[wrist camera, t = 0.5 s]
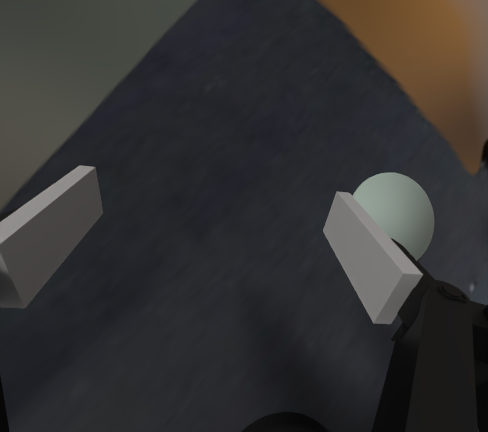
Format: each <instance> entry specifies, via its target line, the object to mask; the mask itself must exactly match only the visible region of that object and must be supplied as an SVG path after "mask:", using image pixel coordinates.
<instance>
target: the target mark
mask: <svg viewBox="0 0 488 432" xmlns="http://www.w3.org/2000/svg"><path fill="white" fill-rule="evenodd" d="M353 198H354V199H355V200H356V201H357V202H358V203H359V204H360V205H361V206H362V208H363V209H364V210H365V211H366V212H367V213H368V214H369V215H370V216H371V217H372V219H373V220H374V221H375V222H376V223H377V224H378V225H379V226H380V227H381V229H382V230H383V231H384V232H385V233H386V234H387V235H388V236H389V237H390V238H392V239H394V240H396V241H397V242H398V243H400V244H401V245H403V246H404V247H405V248H406V249H407V251H408V252H409V253H410V254H411V255H412V256H413V257H414V258H415V260H416V261H417V260H418V259H419V258H421V256H422V255H423V254H424V253H425V251H426V250H427V248H428V246H429V244H430V242H431V239H432V236H433V231H434V214H433V209H432V205H431V203H430V200H429V198H428V196H427V195H426V193H425V192H424V190H423V189H422V188H421V187H420V186H419V185H418V184H417V183H416V182H415V181H414V180H412V179H411V178H409V177H407V176H404V175H402V174H398V173H381V174H377V175H375V176H372V177H370V178H369V179H367V180H366V181H364V182H363V183H362V184H361V185H360V186H359V187H358V188H357V190H356V191H355V192H354V194H353Z"/></svg>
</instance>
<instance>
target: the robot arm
mask: <svg viewBox="0 0 488 432" xmlns="http://www.w3.org/2000/svg"><path fill="white" fill-rule="evenodd" d="M102 214H103V209H102V204H101V198H100V192H99V186H98V180H97V174H96V168H95V167H89V166H78V167H77V168H76V169H74V170H73V171H71V172H70V173H69V174H67V175H66V176H64V177H63V178H61V179H60V180H59V181H57V182H56V183H54V184H53V185H52V186H50V187H49V188H47V189H46V190H45V191H43V192H42V193H40V194H39V195H38V196H36V197H35V198H33V199H32V200H31V201H29V202H28V203H26V204H25V205H24V206H22V207H21V208H19V209H18V208H16V209H13V210H11V211H8V212H6V213H3V214H1V215H0V306H1V307H6V308H26V306H27V305H28V304H29V303H30V302H31V300H32V299H33V298H34V297H35V295H36V294H37V293H38V292H39V291H40V289H41V288H42V287H43V286H44V284H45V283H46V282H47V281H48V280H49V278H50V277H51V276H52V275H53V273H54V272H55V271H56V270H57V269H58V267H59V266H60V265H61V264H62V262H63V261H64V260H65V259H66V258H67V256H68V255H69V254H70V253H71V251H72V250H73V249H74V248H75V247H76V245H77V244H78V243H79V242H80V240H81V239H82V238H83V237H84V236H85V234H86V233H87V232H88V231H89V230H90V228H91V227H92V226H93V225H94V223H95V222H96V221H97V220H98V219H99V217H100V216H101V215H102ZM323 232H324V234H325V236H326V238H327V239H328V241H329V243H330V245H331V247H332V249H333V250H334V252H335V254H336V256H337V258H338V260H339V261H340V263H341V265H342V267H343V269H344V270H345V272H346V274H347V276H348V278H349V280H350V281H351V283H352V285H353V287H354V289H355V291H356V292H357V294H358V296H359V298H360V300H361V302H362V303H363V305H364V307H365V309H366V311H367V312H368V314H369V316H370V318H371V320H372V322H373V323H376V324H391V323H392V322H393V320H394V319H395V317H396V316H397V314H398V315H399V317H400V318H401V320H402V321H403V323H402V324H401V326H400V327H399V329H398V330H397V332H396V333H395V334H394V336H393V337H392V339H391V340H392V341H395V339H396V341H395V345H394V349H393V352H392V356H391V360H390V364H389V368H388V372H387V375H386V379H385V383H384V387H383V391H382V395H381V398H380V402H379V406H378V410H377V414H376V418H375V422H374V425H373V429H372V432H478V430H479V432H488V305H483V304H480V303H476V302H473V301H470V300H469V298H468V297H467V296H466V294H465V293H463V292H462V291H461V290H460V289H458V288H457V287H455V286H453V285H451V284H449V283H446V282H443V281H438V280H435V279H434V278H433V277H432V276H431V275H430V274H429V273H428V272H427V271H426V270H425V269H424V268H423V267H422V266H421V264H420V263H419V262H418V261H416V260H415V258H414V257H413V256H412V255H411V254H410V253H409V252H408V251H407V249H406V248H405V247H404V246H403V245H401V244H400V243H398V242H397V241H396V240H394V239H392V238H390V237H389V236H388V235H387V234H386V233H385V232H384V231H383V230H382V229H381V227H380V226H379V225H378V224H377V223H376V222H375V221H374V220H373V219H372V217H371V216H370V215H369V214H368V213H367V212H366V211H365V210H364V209H363V208H362V206H361V205H360V204H359V203H358V202H357V201H356V200H355V199H354V198H353V196H352V195H351V194H350V193H345V192H336V195H335V198H334V201H333V204H332V207H331V209H330V212H329V215H328V218H327V221H326V224H325V227H324V230H323ZM0 432H9V426H8V420H7V414H6V408H5V401H4V395H3V389H2V383H1V377H0ZM242 432H326V431H325V429H324V428H323V427H322V426H321V425H320V424H318V423H317V422H316V421H314V420H313V419H311V418H309V417H307V416H304V415H301V414H297V413H276V414H272V415H269V416H266V417H263V418H261V419H259V420H257V421H255V422H254V423H252V424H251V425H249V426H248V427H247V428H245V429H244V430H243V431H242Z"/></svg>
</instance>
